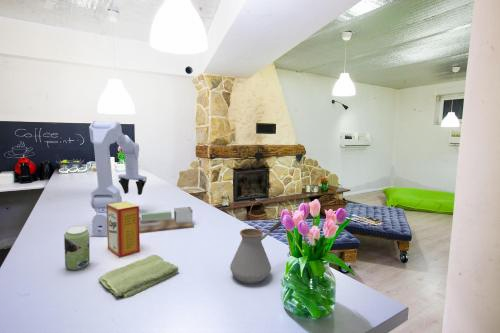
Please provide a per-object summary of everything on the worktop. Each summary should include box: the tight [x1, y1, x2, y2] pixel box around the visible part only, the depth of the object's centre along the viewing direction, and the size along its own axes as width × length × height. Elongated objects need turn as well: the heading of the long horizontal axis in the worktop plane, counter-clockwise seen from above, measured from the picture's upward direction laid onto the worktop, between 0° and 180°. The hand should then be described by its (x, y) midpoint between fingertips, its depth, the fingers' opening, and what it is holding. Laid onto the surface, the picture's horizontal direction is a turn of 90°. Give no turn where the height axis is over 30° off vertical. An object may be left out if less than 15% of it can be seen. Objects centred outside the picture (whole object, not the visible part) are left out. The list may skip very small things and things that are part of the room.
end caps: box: [139, 206, 194, 228], centre depth 116 cm, size 22×6×6 cm, turn 113°
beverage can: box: [63, 225, 91, 271], centre depth 77 cm, size 6×7×12 cm
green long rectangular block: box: [141, 210, 172, 220], centre depth 125 cm, size 13×3×4 cm, turn 113°
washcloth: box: [98, 254, 179, 299], centre depth 73 cm, size 13×18×3 cm
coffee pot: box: [229, 220, 283, 285], centre depth 77 cm, size 21×12×15 cm, turn 130°
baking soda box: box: [107, 200, 141, 259], centre depth 89 cm, size 10×6×16 cm
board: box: [139, 218, 195, 234], centre depth 116 cm, size 22×12×1 cm, turn 113°
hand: (133, 193), depth 133 cm, fingers open, 7 cm apart
